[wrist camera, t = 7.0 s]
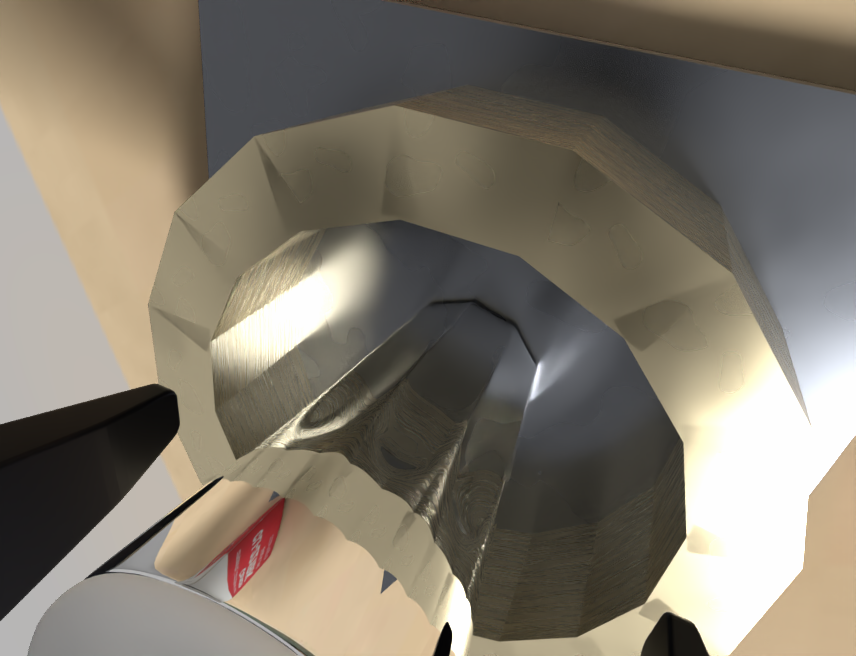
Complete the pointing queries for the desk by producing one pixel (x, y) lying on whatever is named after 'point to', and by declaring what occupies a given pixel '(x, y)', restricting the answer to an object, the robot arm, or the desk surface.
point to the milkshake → (332, 517)
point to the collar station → (536, 288)
